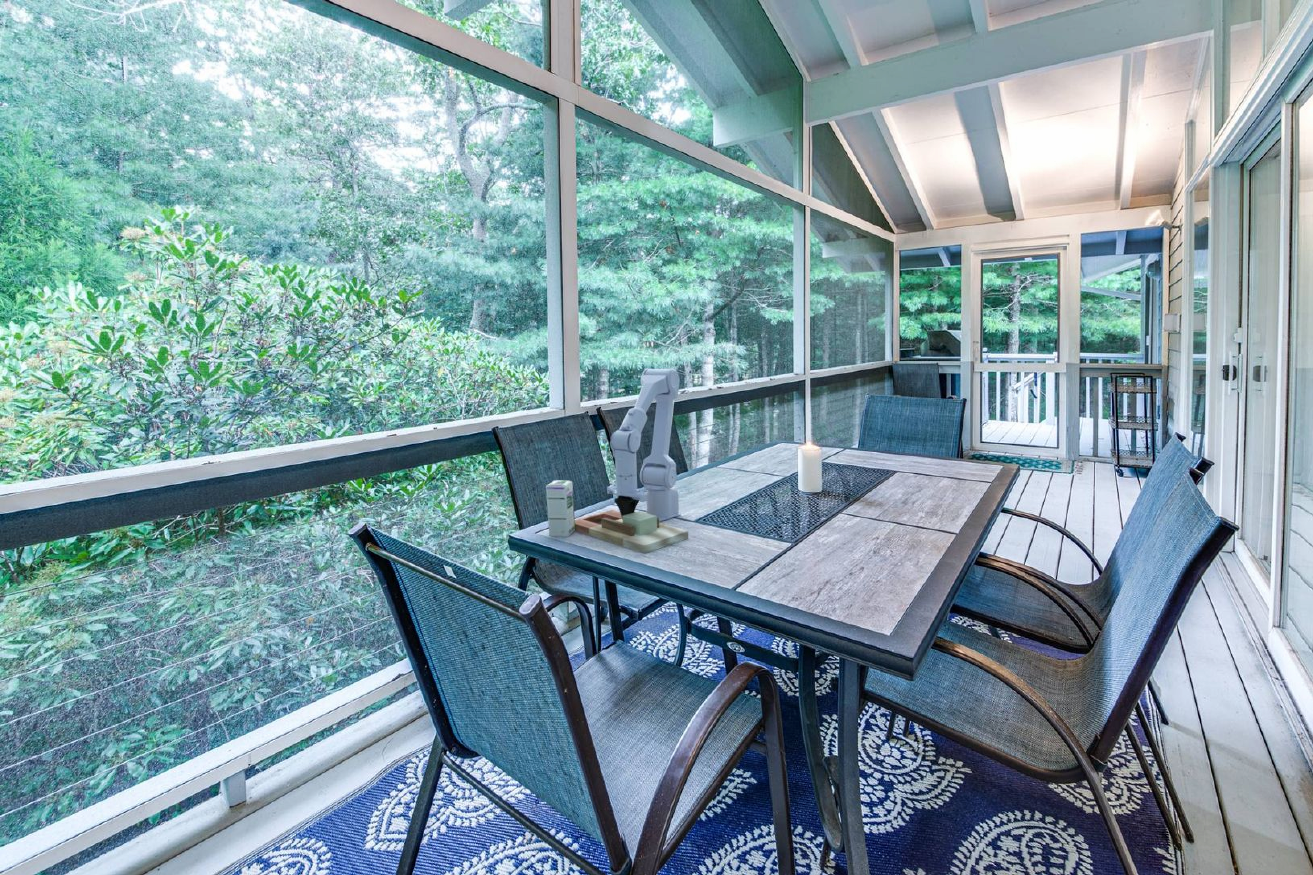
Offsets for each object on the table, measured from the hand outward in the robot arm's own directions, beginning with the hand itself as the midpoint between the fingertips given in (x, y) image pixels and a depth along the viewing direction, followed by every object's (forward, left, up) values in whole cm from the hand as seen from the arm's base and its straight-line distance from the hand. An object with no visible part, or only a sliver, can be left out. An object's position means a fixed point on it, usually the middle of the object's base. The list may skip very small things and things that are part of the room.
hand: (627, 522), depth 171 cm
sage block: (0, +5, -1) cm, 5 cm away
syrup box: (+12, -14, -3) cm, 19 cm away
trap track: (0, -1, -3) cm, 3 cm away
